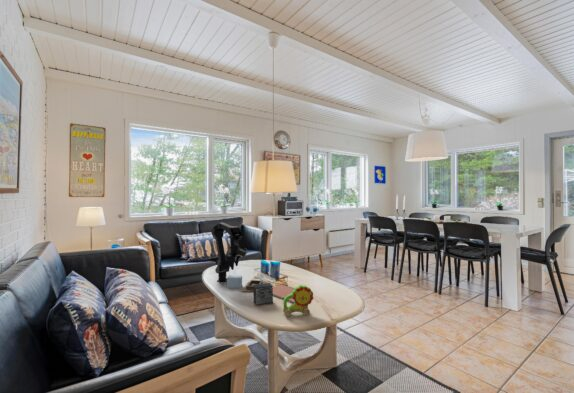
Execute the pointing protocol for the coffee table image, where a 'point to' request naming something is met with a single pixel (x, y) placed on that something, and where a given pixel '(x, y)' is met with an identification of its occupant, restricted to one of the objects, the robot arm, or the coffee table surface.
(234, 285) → the key block
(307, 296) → the toy lion
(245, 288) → the keyed nest
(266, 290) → the small box
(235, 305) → the coffee table surface
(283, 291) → the notebook
